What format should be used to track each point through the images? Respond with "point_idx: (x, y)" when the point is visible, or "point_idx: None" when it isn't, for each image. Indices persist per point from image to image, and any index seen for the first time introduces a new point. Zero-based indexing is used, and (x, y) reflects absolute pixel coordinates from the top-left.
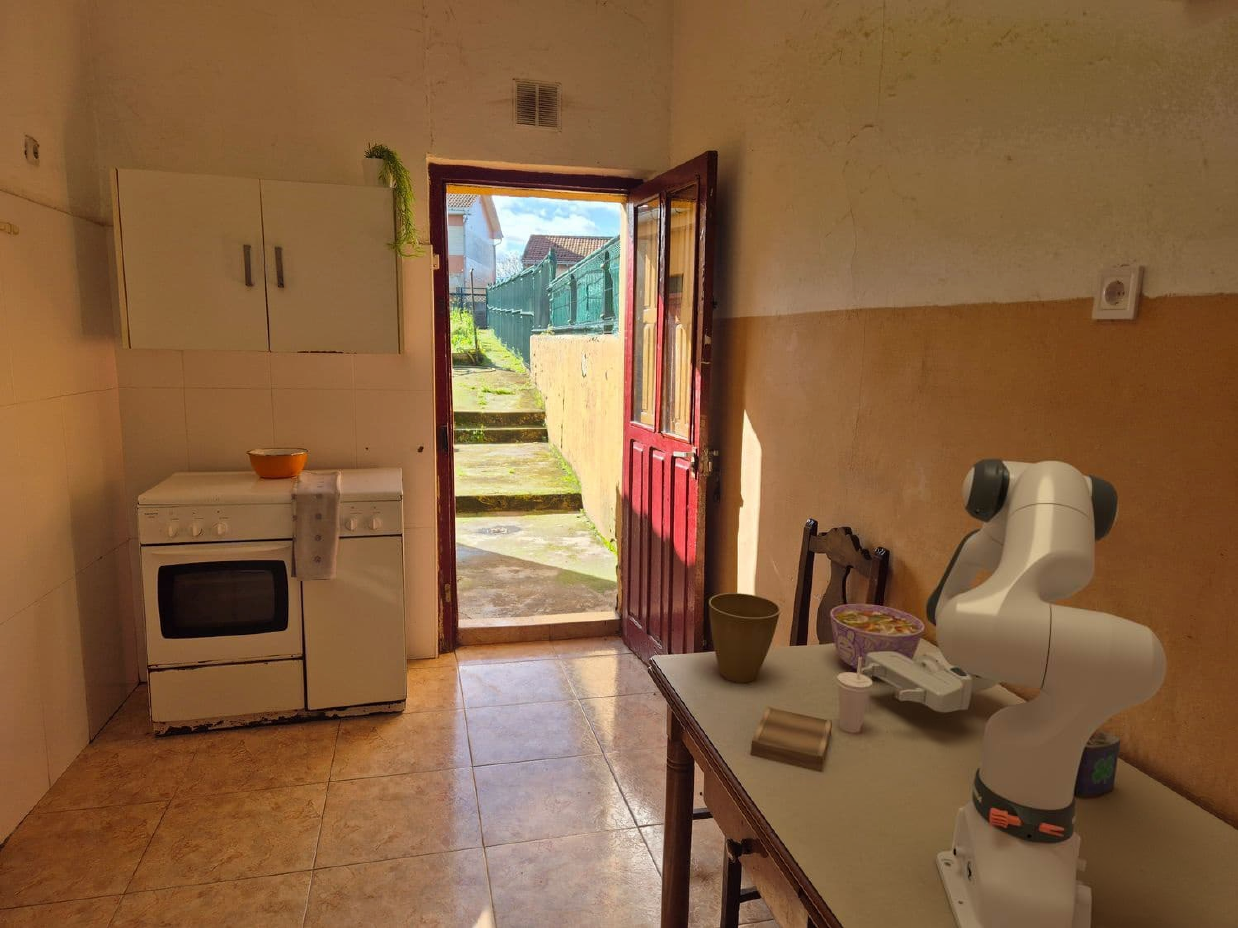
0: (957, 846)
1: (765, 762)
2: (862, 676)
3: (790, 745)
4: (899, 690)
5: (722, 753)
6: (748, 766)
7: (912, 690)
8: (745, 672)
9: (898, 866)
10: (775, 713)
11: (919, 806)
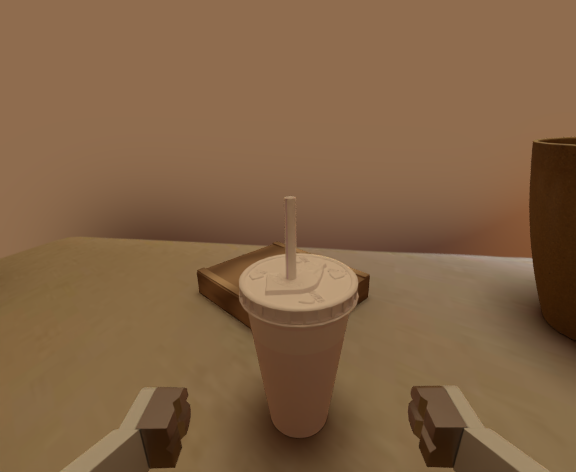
0: None
1: None
2: (310, 298)
3: (247, 260)
4: (165, 390)
5: None
6: None
7: (98, 453)
8: (540, 293)
9: (30, 273)
10: None
11: (15, 345)
